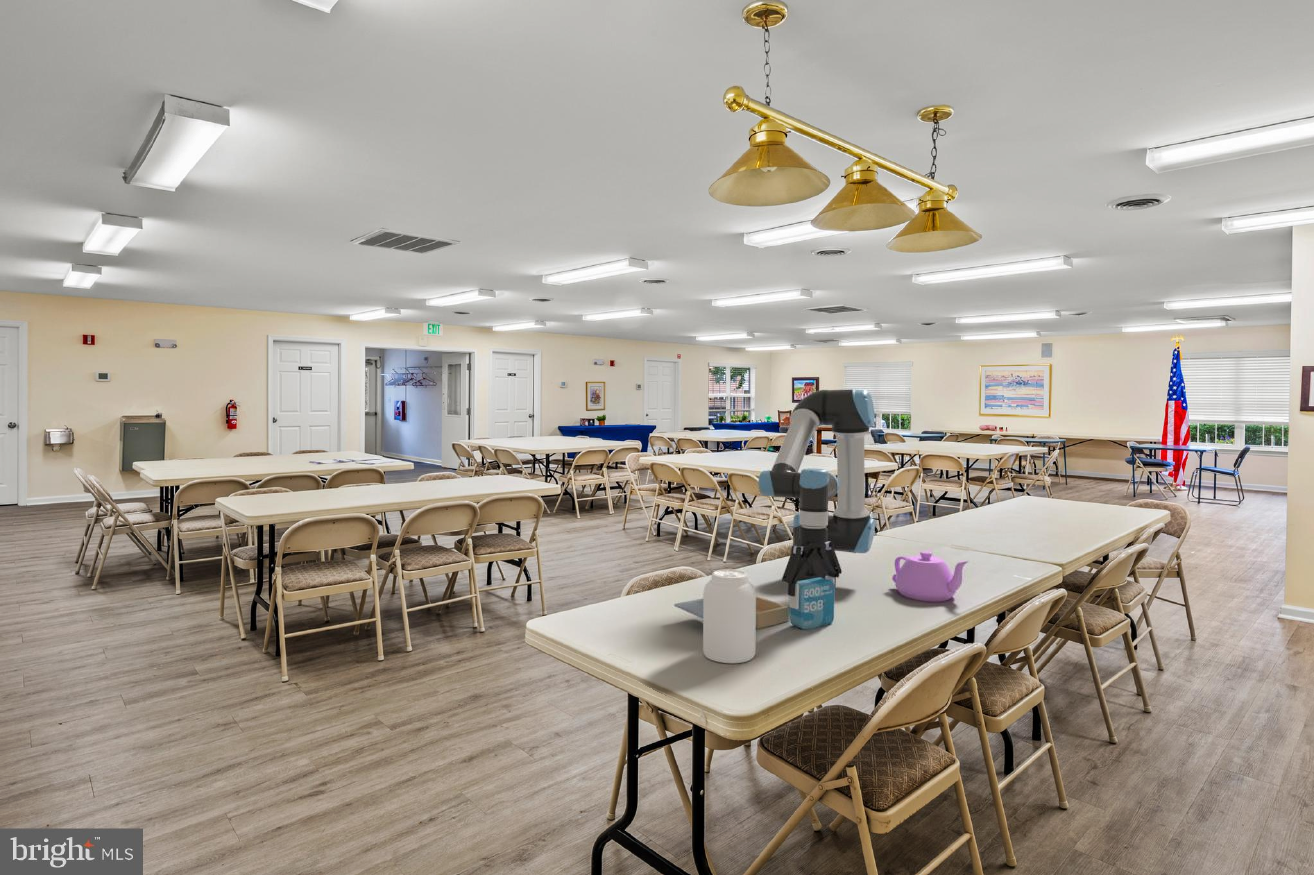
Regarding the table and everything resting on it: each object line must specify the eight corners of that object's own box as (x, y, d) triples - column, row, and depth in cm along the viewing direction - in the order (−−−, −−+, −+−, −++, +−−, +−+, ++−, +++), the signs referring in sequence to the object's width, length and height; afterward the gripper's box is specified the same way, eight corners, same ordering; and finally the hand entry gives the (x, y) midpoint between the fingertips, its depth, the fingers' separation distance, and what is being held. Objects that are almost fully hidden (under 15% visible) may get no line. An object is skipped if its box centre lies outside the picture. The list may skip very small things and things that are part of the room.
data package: (801, 630, 180) (801, 586, 179) (789, 626, 184) (790, 582, 183) (834, 623, 186) (834, 580, 185) (822, 618, 190) (822, 576, 189)
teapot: (877, 592, 217) (877, 549, 216) (906, 582, 228) (907, 542, 227) (953, 610, 197) (954, 564, 197) (981, 599, 209) (983, 555, 208)
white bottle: (760, 664, 157) (761, 578, 156) (707, 665, 156) (707, 579, 155) (749, 644, 169) (749, 565, 168) (699, 646, 168) (699, 566, 167)
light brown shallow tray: (747, 605, 202) (748, 592, 202) (788, 621, 188) (788, 606, 187) (718, 611, 196) (718, 598, 196) (758, 628, 182) (758, 613, 181)
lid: (706, 599, 193) (706, 585, 193) (745, 615, 179) (745, 600, 179) (674, 605, 187) (674, 591, 187) (712, 622, 173) (712, 606, 173)
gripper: (834, 520, 193) (833, 594, 194) (769, 528, 180) (768, 607, 181) (855, 524, 187) (854, 600, 188) (789, 532, 173) (788, 614, 174)
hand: (812, 603), depth 184 cm, fingers open, 13 cm apart
